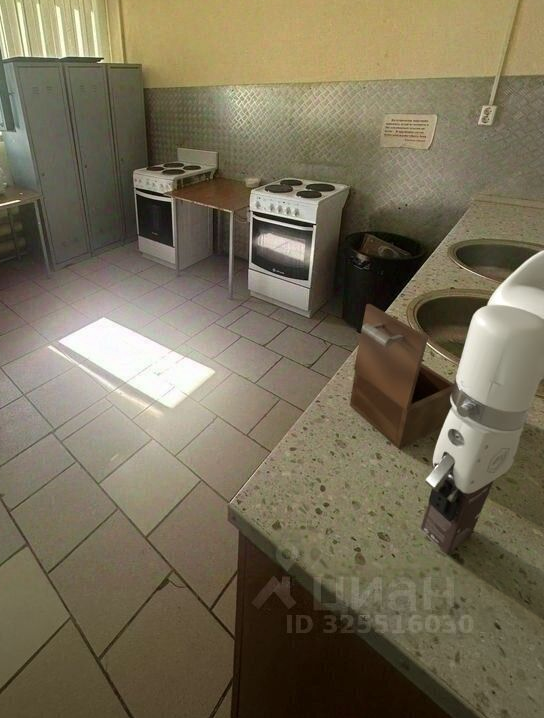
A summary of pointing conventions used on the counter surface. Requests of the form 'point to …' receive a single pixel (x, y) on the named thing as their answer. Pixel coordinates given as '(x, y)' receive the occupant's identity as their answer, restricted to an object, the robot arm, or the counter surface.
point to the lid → (390, 355)
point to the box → (455, 519)
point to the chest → (394, 419)
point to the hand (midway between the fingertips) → (456, 500)
